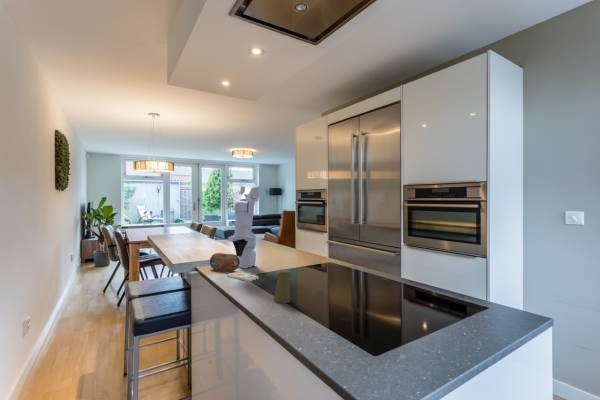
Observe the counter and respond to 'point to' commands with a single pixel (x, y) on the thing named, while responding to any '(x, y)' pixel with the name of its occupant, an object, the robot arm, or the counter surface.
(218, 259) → the tin
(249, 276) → the label board
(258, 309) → the counter surface
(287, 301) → the olive green tapered cylinder
